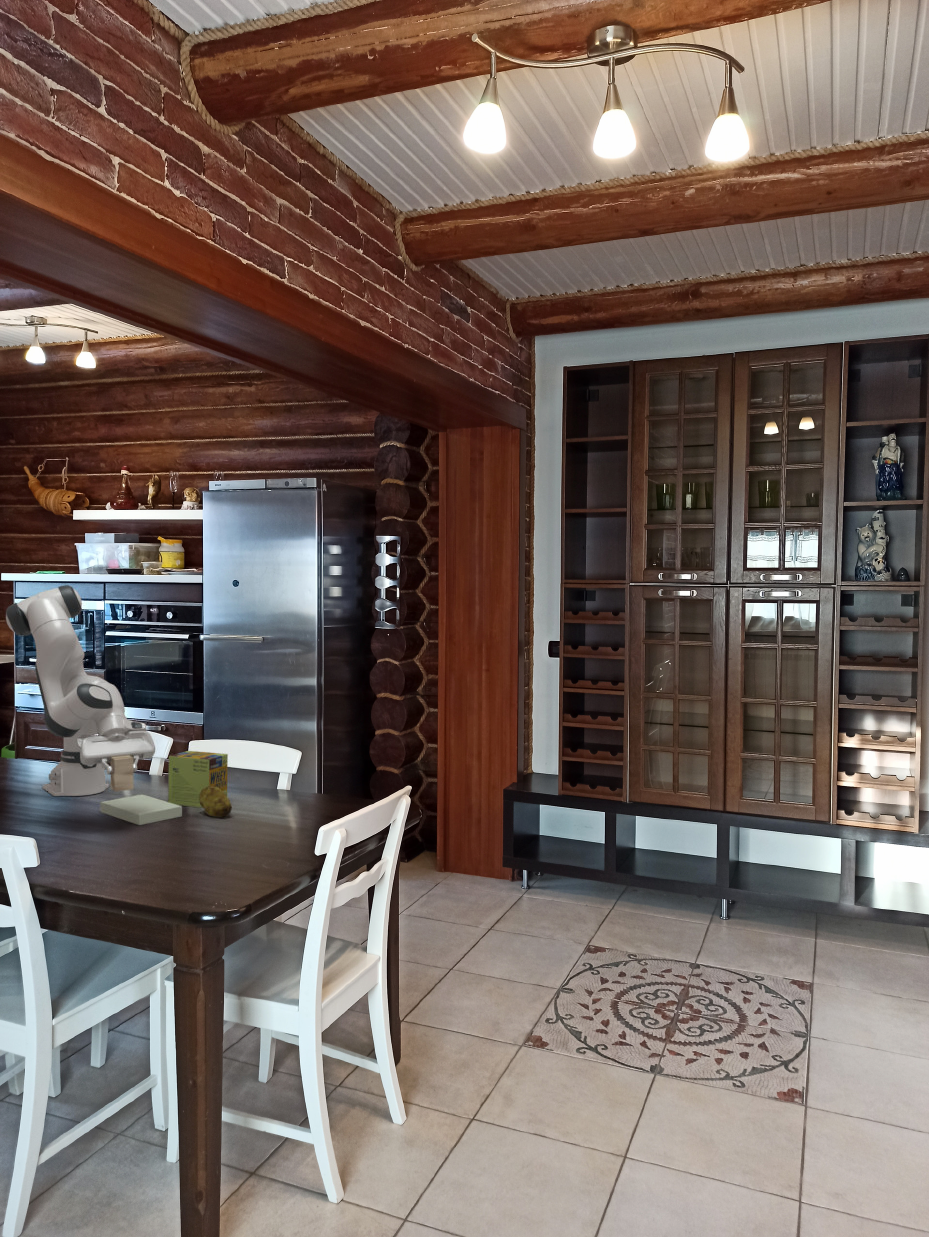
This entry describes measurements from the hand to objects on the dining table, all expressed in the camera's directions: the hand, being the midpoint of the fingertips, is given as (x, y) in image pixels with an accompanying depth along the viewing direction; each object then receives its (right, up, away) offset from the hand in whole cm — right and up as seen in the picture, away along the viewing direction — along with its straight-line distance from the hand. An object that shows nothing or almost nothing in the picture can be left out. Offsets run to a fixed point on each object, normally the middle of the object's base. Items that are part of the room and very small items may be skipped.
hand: (122, 772), depth 257 cm
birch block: (0, -5, +1) cm, 5 cm away
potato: (+21, -16, +19) cm, 33 cm away
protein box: (+12, -16, +33) cm, 38 cm away
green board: (-1, -16, +18) cm, 24 cm away
